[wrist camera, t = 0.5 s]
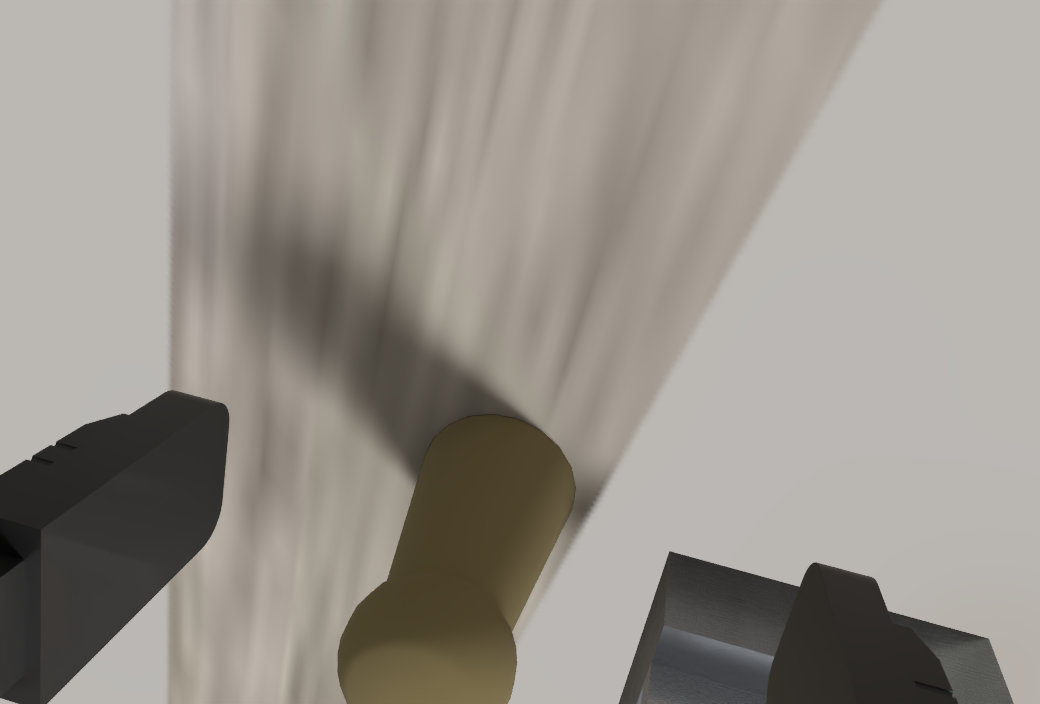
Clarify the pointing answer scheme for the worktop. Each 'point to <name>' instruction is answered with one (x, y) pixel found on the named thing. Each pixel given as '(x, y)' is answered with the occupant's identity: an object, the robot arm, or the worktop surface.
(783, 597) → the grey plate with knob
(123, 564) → the robot arm
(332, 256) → the worktop surface
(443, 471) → the cork
